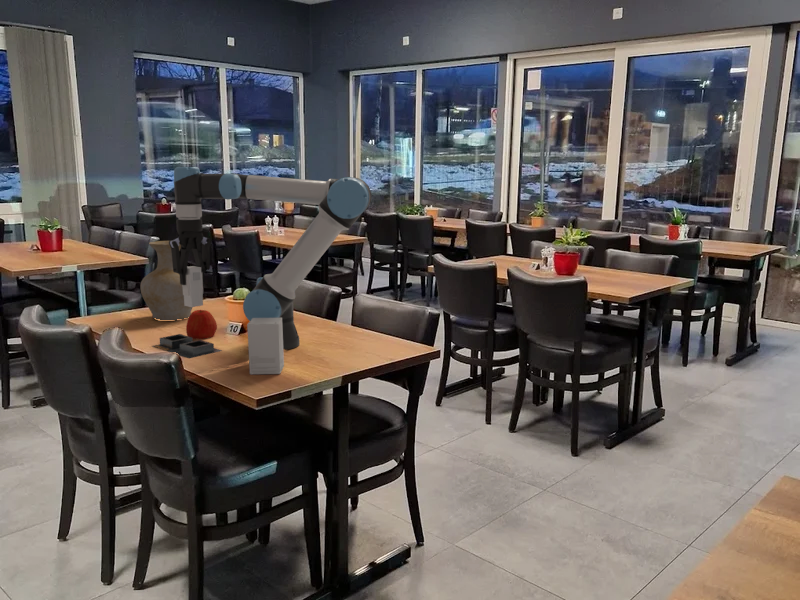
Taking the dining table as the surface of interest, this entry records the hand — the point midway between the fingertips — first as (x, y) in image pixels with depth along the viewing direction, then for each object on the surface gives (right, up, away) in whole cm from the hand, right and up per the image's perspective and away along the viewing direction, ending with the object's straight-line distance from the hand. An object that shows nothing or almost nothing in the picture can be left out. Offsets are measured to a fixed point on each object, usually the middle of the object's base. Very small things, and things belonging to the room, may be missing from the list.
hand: (193, 293), depth 206 cm
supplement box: (+25, -23, -12) cm, 36 cm away
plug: (0, -4, +1) cm, 4 cm away
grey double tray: (-4, -19, +7) cm, 20 cm away
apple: (-4, -16, +24) cm, 29 cm away
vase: (-26, -9, +57) cm, 63 cm away
